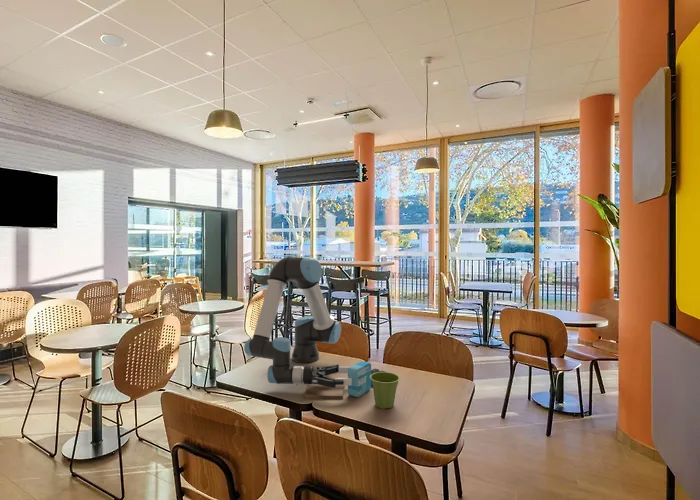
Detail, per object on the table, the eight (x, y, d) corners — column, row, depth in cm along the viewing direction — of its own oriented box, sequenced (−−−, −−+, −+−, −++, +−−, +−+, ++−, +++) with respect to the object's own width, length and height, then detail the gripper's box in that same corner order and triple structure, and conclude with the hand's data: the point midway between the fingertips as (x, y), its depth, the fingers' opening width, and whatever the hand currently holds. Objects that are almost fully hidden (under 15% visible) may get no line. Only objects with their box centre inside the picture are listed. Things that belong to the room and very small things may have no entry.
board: (310, 383, 164) (310, 380, 164) (344, 383, 163) (344, 381, 163) (304, 398, 148) (304, 395, 148) (342, 398, 147) (342, 395, 147)
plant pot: (399, 413, 135) (399, 383, 135) (368, 410, 137) (368, 381, 137) (400, 399, 146) (400, 372, 146) (371, 397, 148) (371, 370, 148)
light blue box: (356, 398, 147) (356, 369, 147) (347, 396, 150) (347, 367, 150) (371, 389, 157) (371, 361, 157) (362, 386, 160) (362, 360, 160)
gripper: (308, 373, 168) (353, 373, 167) (298, 395, 143) (351, 396, 142) (308, 357, 168) (353, 357, 167) (298, 377, 143) (351, 377, 142)
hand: (352, 375), depth 154 cm, fingers open, 13 cm apart
